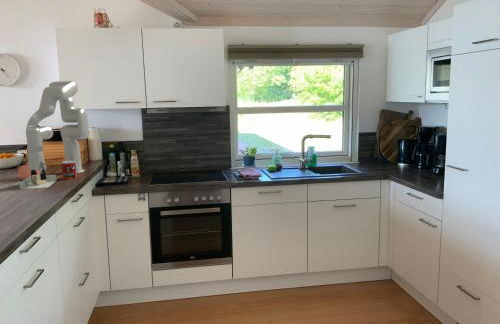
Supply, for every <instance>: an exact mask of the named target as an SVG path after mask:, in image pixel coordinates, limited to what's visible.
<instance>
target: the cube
mask: <svg viewBox="0 0 500 324" xmlns="http://www.w3.org/2000/svg"><path fill="white" fill-rule="evenodd" d="M32 180H33V184H35V185H40V184H45V183H46V180H41V178H40V174H38V175H32Z"/></svg>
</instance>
